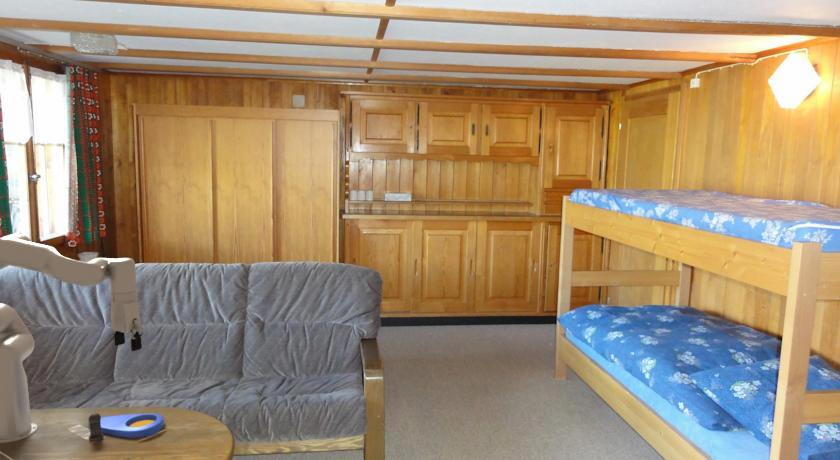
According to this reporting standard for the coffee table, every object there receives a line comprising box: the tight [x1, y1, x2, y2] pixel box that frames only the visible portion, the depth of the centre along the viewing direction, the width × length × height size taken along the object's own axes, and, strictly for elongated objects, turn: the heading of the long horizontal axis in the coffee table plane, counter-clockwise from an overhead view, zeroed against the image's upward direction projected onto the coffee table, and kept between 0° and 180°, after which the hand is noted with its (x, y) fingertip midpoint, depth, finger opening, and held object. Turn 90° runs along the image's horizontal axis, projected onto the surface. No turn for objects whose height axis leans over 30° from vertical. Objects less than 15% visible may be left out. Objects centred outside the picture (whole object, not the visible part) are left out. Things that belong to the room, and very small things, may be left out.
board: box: [66, 424, 107, 444], centre depth 190 cm, size 17×5×1 cm, turn 56°
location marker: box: [88, 412, 165, 439], centre depth 194 cm, size 13×3×25 cm
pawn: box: [88, 412, 104, 443], centre depth 186 cm, size 4×4×8 cm
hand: (128, 347), depth 195 cm, fingers open, 9 cm apart
